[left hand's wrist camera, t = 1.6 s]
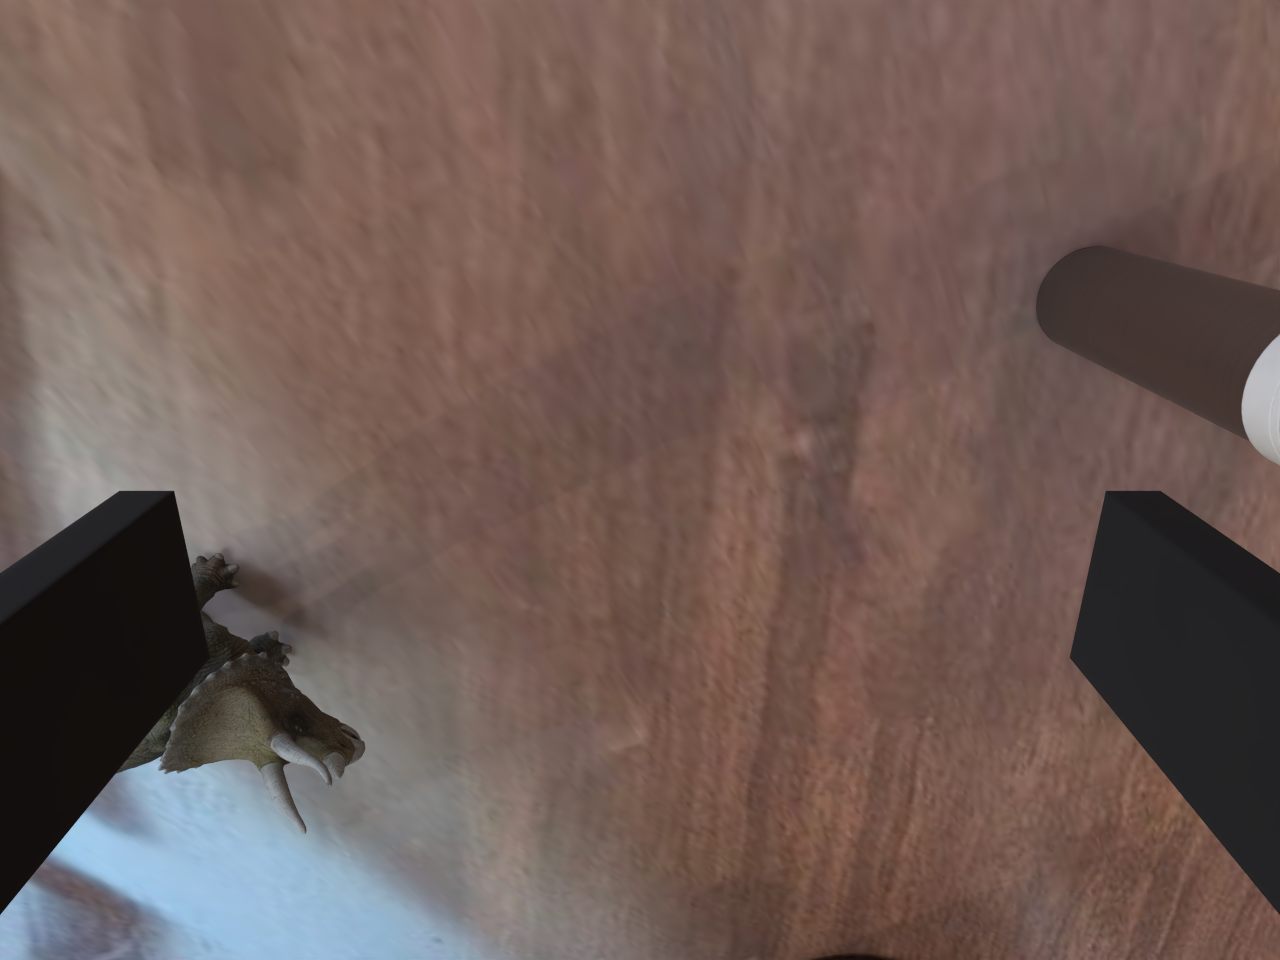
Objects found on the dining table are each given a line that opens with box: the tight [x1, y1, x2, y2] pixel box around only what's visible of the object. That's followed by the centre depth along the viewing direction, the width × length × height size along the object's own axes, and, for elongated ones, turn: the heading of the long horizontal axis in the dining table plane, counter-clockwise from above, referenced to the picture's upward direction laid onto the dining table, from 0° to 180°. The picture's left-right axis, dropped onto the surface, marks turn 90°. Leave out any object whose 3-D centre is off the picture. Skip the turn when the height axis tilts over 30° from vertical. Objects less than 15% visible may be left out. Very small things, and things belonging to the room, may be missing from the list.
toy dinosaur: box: [116, 553, 365, 834], centre depth 40 cm, size 22×8×11 cm, turn 99°
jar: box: [1036, 247, 1280, 441], centre depth 31 cm, size 4×4×16 cm
